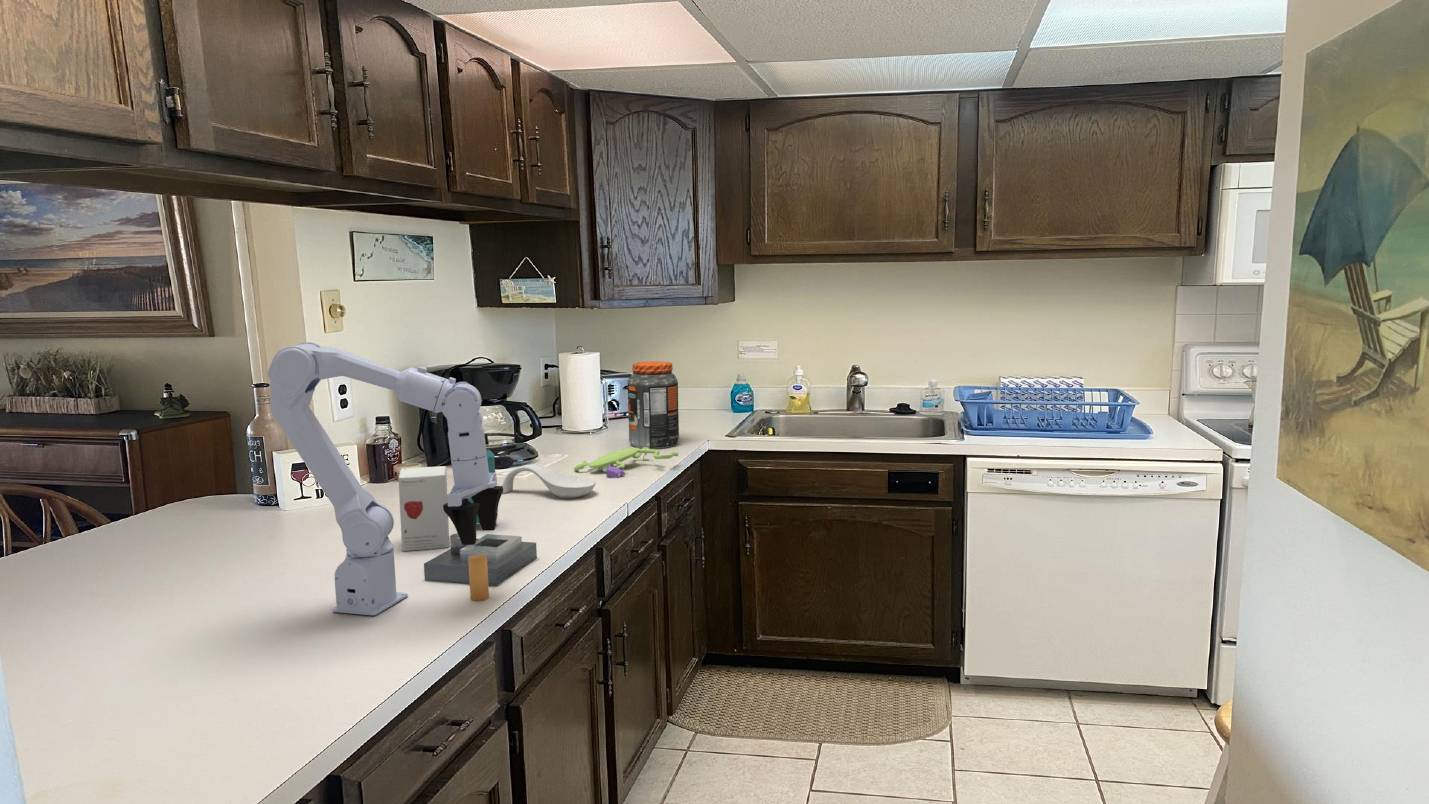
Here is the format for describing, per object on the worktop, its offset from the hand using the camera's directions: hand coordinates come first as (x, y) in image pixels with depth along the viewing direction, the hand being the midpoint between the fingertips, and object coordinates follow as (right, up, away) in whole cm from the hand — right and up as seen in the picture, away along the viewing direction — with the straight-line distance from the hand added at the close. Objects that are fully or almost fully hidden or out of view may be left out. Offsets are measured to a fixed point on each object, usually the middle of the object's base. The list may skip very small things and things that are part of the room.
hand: (479, 537), depth 151 cm
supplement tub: (+20, +9, +135) cm, 137 cm away
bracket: (-1, -5, +15) cm, 16 cm away
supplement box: (-19, -6, +32) cm, 37 cm away
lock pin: (0, -10, 0) cm, 10 cm away
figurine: (+15, +3, +101) cm, 102 cm away
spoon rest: (-1, -1, +72) cm, 72 cm away
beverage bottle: (-11, -4, +44) cm, 45 cm away
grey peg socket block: (-3, -8, +16) cm, 18 cm away
